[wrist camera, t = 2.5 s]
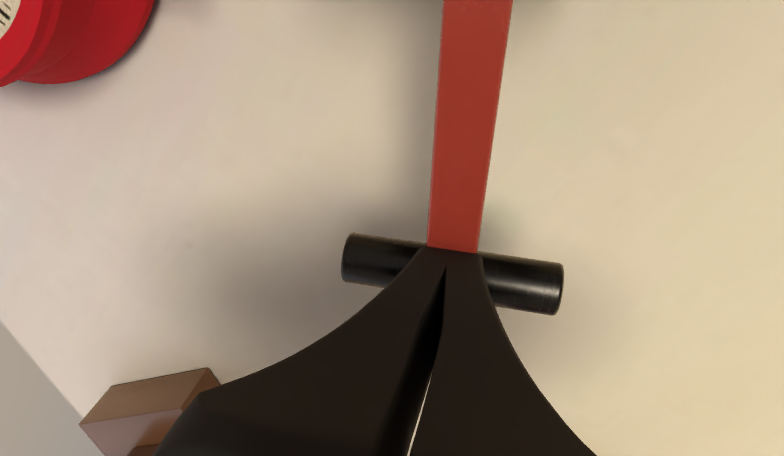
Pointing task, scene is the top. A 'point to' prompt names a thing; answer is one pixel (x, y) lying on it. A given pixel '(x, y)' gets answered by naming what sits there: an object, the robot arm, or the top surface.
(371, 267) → the lever
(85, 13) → the alarm clock
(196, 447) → the robot arm
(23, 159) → the top surface
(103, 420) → the block
